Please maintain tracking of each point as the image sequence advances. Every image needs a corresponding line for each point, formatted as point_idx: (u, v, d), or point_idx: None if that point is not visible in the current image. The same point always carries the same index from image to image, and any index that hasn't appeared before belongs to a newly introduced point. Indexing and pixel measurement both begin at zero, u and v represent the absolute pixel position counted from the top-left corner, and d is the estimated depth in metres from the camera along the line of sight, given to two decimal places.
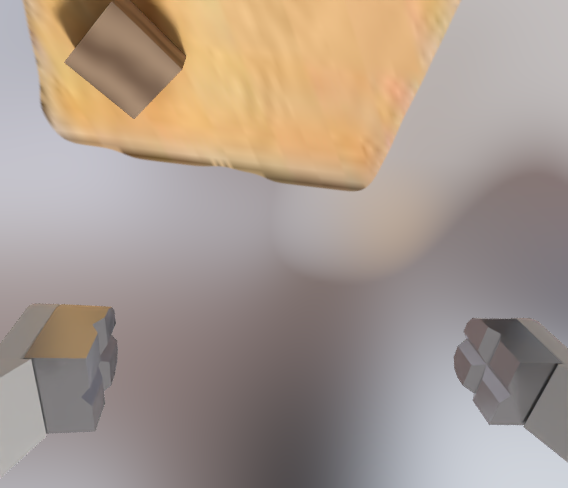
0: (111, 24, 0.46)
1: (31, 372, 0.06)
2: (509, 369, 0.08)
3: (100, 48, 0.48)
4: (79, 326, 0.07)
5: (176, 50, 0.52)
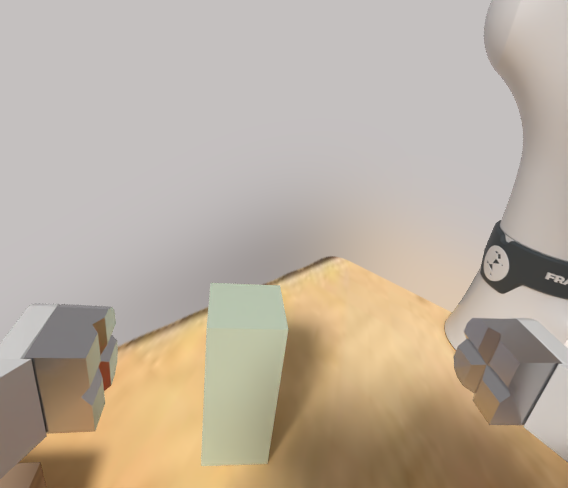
0: None
1: (31, 372, 0.06)
2: (509, 369, 0.08)
3: None
4: (79, 326, 0.07)
5: None
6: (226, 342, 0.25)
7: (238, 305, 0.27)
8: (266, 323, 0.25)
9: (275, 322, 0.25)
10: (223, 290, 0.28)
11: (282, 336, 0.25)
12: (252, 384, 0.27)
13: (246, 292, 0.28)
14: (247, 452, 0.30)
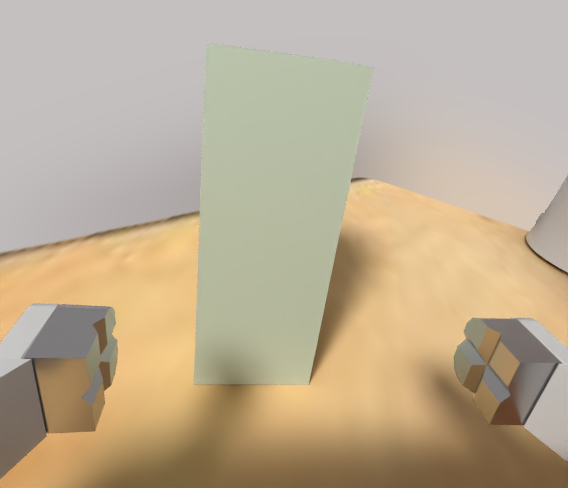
0: None
1: (31, 372, 0.06)
2: (509, 369, 0.08)
3: None
4: (79, 326, 0.07)
5: None
6: (247, 90, 0.12)
7: None
8: None
9: (345, 63, 0.13)
10: (237, 47, 0.15)
11: (360, 85, 0.12)
12: (293, 206, 0.14)
13: None
14: (275, 360, 0.17)
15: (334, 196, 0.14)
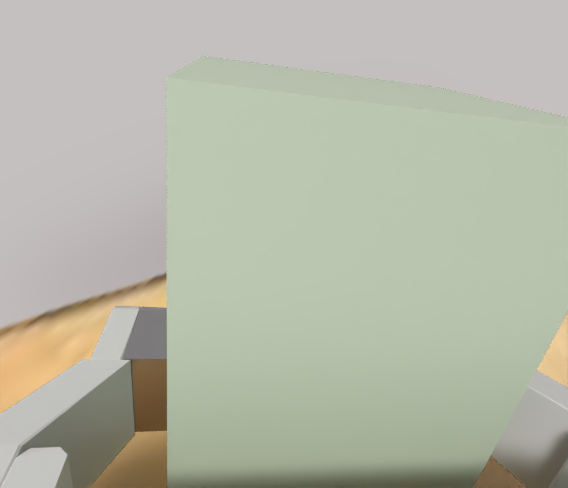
0: None
1: (129, 373, 0.07)
2: None
3: None
4: (165, 328, 0.07)
5: None
6: (294, 207, 0.04)
7: (326, 80, 0.06)
8: (512, 114, 0.04)
9: (552, 119, 0.05)
10: (252, 64, 0.07)
11: None
12: (386, 440, 0.06)
13: (339, 76, 0.07)
14: None
15: (483, 418, 0.06)
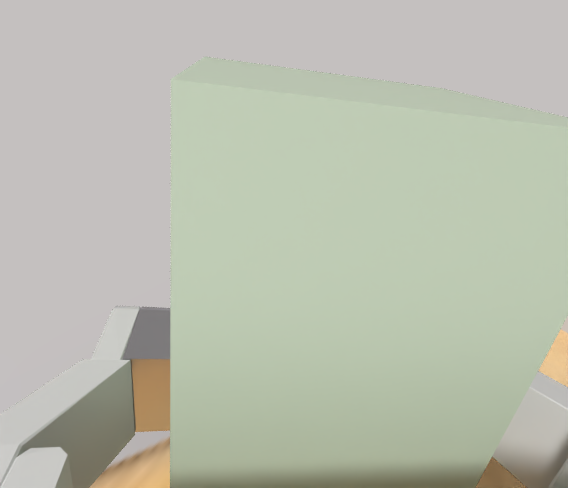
0: None
1: (129, 372, 0.07)
2: None
3: None
4: (165, 328, 0.07)
5: None
6: (298, 207, 0.04)
7: (328, 81, 0.06)
8: (514, 115, 0.04)
9: (554, 119, 0.05)
10: (254, 65, 0.07)
11: None
12: (389, 441, 0.06)
13: (340, 77, 0.07)
14: None
15: (485, 418, 0.06)
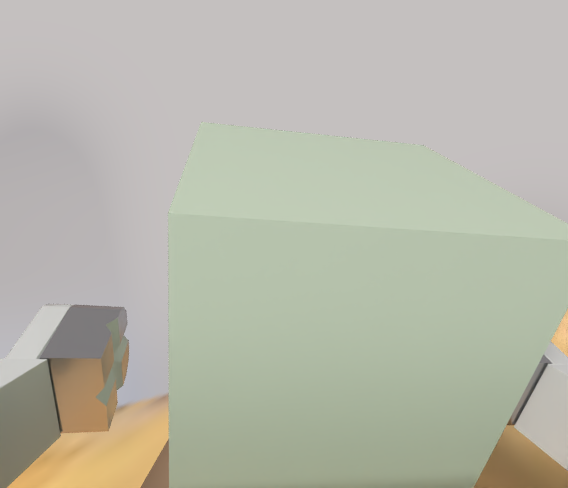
0: None
1: (47, 372, 0.07)
2: None
3: None
4: (93, 326, 0.07)
5: None
6: (280, 307, 0.05)
7: (312, 164, 0.06)
8: (473, 216, 0.05)
9: (511, 215, 0.05)
10: (247, 135, 0.08)
11: (560, 280, 0.05)
12: None
13: (327, 145, 0.08)
14: None
15: (457, 470, 0.07)
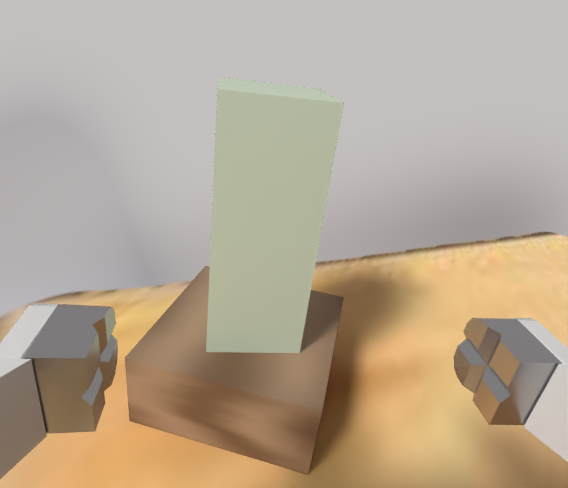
0: (309, 301, 0.26)
1: (31, 372, 0.06)
2: (509, 369, 0.08)
3: None
4: (79, 326, 0.07)
5: None
6: (248, 121, 0.16)
7: (263, 87, 0.18)
8: (308, 97, 0.16)
9: (323, 98, 0.17)
10: (239, 81, 0.19)
11: (334, 116, 0.16)
12: (284, 207, 0.18)
13: (272, 85, 0.19)
14: (272, 332, 0.21)
15: (316, 200, 0.18)
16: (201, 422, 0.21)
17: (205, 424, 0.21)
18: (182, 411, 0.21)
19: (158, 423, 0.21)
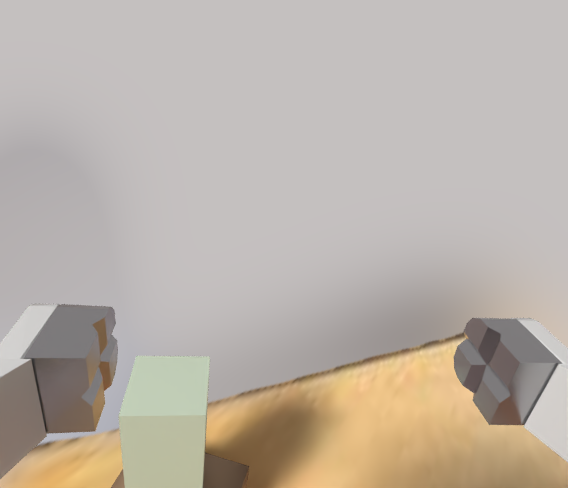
0: (220, 473, 0.34)
1: (31, 372, 0.06)
2: (509, 369, 0.08)
3: None
4: (79, 326, 0.07)
5: None
6: (141, 428, 0.24)
7: (159, 384, 0.26)
8: (184, 407, 0.24)
9: (194, 405, 0.25)
10: (147, 365, 0.27)
11: (200, 421, 0.24)
12: (174, 465, 0.26)
13: (171, 367, 0.27)
14: None
15: (196, 460, 0.26)
16: None
17: None
18: None
19: None
